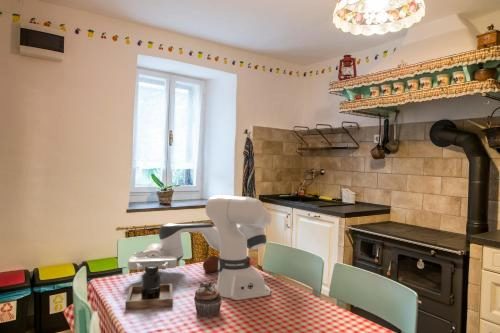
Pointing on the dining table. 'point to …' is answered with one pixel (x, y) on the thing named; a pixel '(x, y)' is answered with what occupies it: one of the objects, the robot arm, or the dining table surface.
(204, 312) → the cupcake
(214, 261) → the potato
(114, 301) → the dining table surface
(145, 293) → the supplement bottle
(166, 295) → the tray
